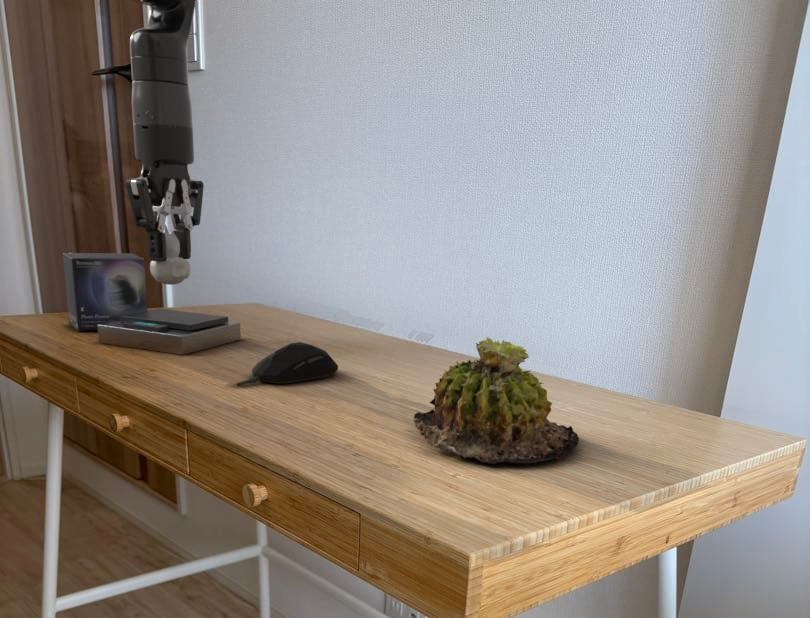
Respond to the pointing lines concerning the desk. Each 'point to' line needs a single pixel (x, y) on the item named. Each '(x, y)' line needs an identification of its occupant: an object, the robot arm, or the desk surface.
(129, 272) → the small box
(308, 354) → the gaming mouse
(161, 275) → the beige lumpy figurine
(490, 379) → the cactus
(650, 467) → the desk surface
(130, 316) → the scale pan
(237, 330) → the scale
